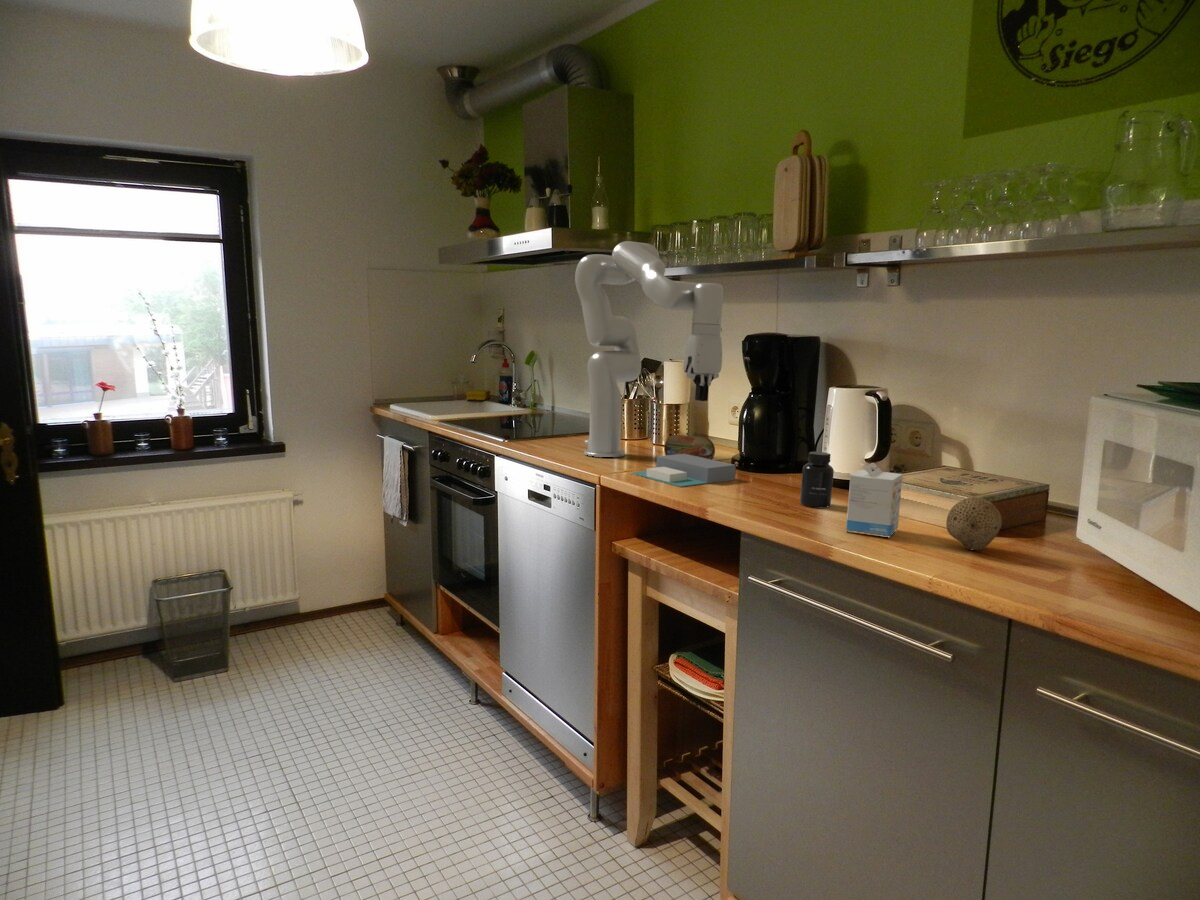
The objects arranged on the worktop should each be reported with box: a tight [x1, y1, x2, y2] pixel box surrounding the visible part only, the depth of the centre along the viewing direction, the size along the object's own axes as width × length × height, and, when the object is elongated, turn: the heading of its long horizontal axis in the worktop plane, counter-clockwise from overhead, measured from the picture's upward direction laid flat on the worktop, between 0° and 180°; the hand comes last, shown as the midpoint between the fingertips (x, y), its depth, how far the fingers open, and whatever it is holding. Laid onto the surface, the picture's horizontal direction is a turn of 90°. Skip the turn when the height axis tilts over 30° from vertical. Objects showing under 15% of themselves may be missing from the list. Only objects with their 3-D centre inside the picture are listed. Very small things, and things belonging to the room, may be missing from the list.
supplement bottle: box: [799, 451, 835, 508], centre depth 175 cm, size 7×7×12 cm
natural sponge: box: [945, 496, 1003, 551], centre depth 141 cm, size 9×9×10 cm
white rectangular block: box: [646, 467, 687, 482], centre depth 201 cm, size 9×6×2 cm, turn 37°
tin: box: [663, 434, 716, 460], centre depth 225 cm, size 15×3×8 cm, turn 62°
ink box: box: [845, 462, 903, 537], centre depth 153 cm, size 9×8×13 cm
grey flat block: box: [655, 454, 737, 485], centre depth 207 cm, size 20×10×4 cm, turn 36°
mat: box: [631, 470, 707, 488], centre depth 202 cm, size 20×9×1 cm, turn 36°
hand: (701, 400), depth 206 cm, fingers closed
